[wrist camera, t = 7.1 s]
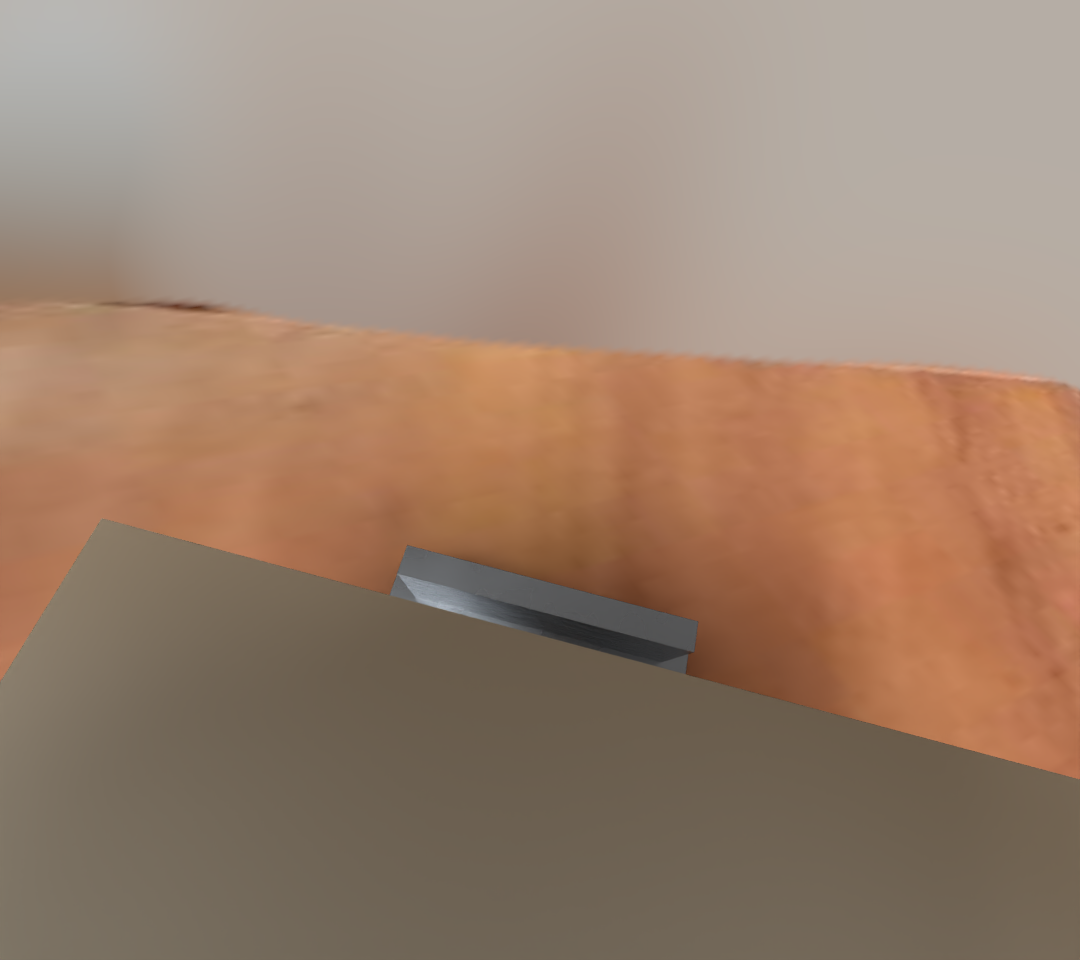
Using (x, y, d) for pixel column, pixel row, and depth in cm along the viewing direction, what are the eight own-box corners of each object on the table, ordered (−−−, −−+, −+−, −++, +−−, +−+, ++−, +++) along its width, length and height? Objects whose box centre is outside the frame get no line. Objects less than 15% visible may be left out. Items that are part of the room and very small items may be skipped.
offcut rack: (604, 1212, 16) (644, 1416, 11) (217, 1093, 16) (106, 1241, 12) (683, 634, 23) (729, 614, 18) (408, 561, 23) (384, 524, 18)
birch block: (623, 820, 13) (1256, 1377, 2) (386, 754, 13) (-161, 942, 2) (637, 731, 14) (1148, 799, 3) (413, 670, 14) (102, 517, 3)
